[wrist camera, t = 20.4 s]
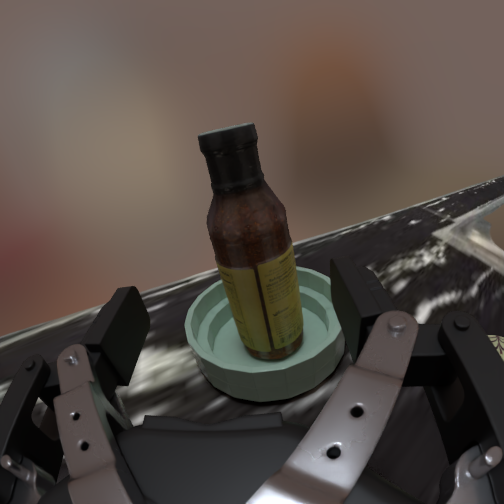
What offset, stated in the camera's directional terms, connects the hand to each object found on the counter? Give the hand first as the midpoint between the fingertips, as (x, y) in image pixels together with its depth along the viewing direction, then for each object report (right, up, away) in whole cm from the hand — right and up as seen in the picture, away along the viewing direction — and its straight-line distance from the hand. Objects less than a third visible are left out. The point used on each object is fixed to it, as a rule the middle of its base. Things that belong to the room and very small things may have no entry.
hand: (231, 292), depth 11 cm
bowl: (+3, -8, +16) cm, 18 cm away
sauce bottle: (+3, -7, +16) cm, 18 cm away
